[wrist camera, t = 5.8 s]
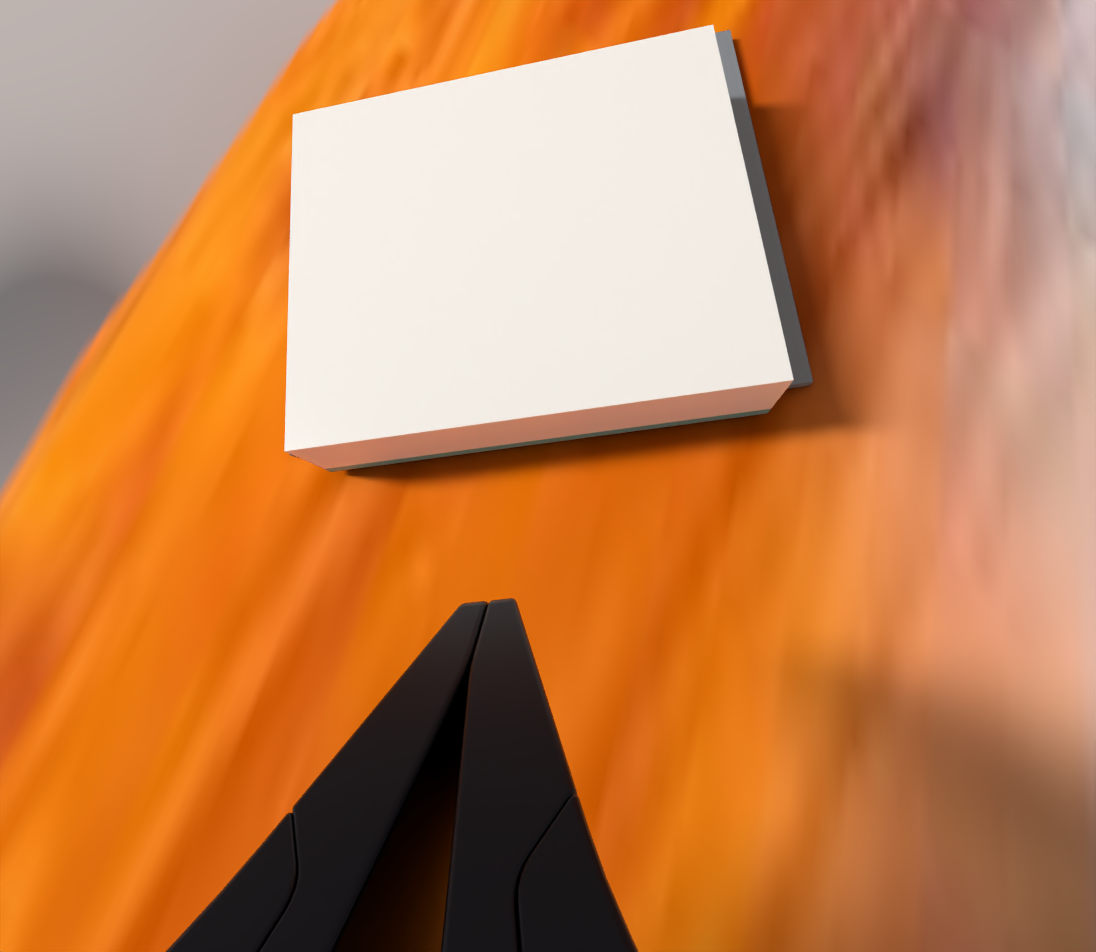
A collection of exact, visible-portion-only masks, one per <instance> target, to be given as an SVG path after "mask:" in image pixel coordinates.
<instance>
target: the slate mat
mask: <svg viewBox="0 0 1096 952" xmlns="http://www.w3.org/2000/svg"><path fill="white" fill-rule="evenodd" d="M715 36H716V40H717V44H718V49H719V53H720V58H721V62H722V66H723V71H724V75H725V80H726V84H727V88H728V93H729V97H730V102H731V106H732V110H733V115H734V119H735V124H736V128H737V132H738V137H739V141H740V146H741V150H742V154H743V159H744V163H745V168H746V172H747V176H748V181H749V185H750V190H751V194H752V198H753V203H754V207H755V212H756V216H757V220H758V225H759V229H760V234H761V238H762V243H763V247H764V251H765V256H766V260H767V265H768V269H769V273H770V278H771V282H772V287H773V291H774V295H775V300H776V304H777V309H778V313H779V317H780V322H781V326H782V331H783V335H784V339H785V344H786V348H787V353H788V357H789V361H790V366H791V370H792V375H793V379H794V380H793V382H792V383H791V384H790V385H789V387H788V388H787V389H789V388H796V387H804V386H810V385H811V384H812V383H813V378H812V374H811V370H810V366H809V361H808V357H807V353H806V349H805V345H804V340H803V336H802V332H801V328H800V323H799V319H798V315H797V311H796V307H795V302H794V298H793V294H792V290H791V285H790V281H789V277H788V273H787V269H786V264H785V260H784V256H783V252H782V247H781V243H780V239H779V235H778V231H777V226H776V222H775V218H774V214H773V209H772V205H771V201H770V197H769V193H768V188H767V184H766V180H765V176H764V171H763V167H762V163H761V159H760V155H759V150H758V146H757V142H756V138H755V133H754V129H753V125H752V121H751V117H750V112H749V108H748V104H747V100H746V95H745V91H744V87H743V83H742V79H741V74H740V70H739V66H738V62H737V57H736V53H735V49H734V45H733V41H732V36H731V32H730V30H727V31H722V32H718V33H715ZM290 455H291V456H294V455H292V454H290ZM294 457H296V456H294Z"/></svg>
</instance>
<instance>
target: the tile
mask: <svg viewBox="0 0 1096 952" xmlns="http://www.w3.org/2000/svg"><path fill="white" fill-rule="evenodd" d="M793 380H794V379H793V375H792V370H791V366H790V361H789V357H788V353H787V348H786V344H785V339H784V335H783V331H782V326H781V322H780V317H779V313H778V309H777V304H776V300H775V295H774V291H773V287H772V282H771V278H770V273H769V269H768V265H767V260H766V256H765V251H764V247H763V243H762V238H761V234H760V229H759V225H758V220H757V216H756V212H755V207H754V203H753V198H752V194H751V190H750V185H749V181H748V176H747V172H746V168H745V163H744V159H743V154H742V150H741V146H740V141H739V137H738V132H737V128H736V124H735V119H734V115H733V110H732V106H731V102H730V97H729V93H728V88H727V84H726V80H725V75H724V71H723V66H722V62H721V58H720V53H719V49H718V44H717V40H716V36H715V31H714V27H713V25H709V26H705V27H700V28H695V29H691V30H686V31H681V32H676V33H672V34H667V35H662V36H658V37H653V38H648V39H644V40H639V41H634V42H630V43H625V44H620V45H616V46H611V47H606V48H602V49H597V50H592V51H588V52H583V53H578V54H574V55H569V56H564V57H560V58H555V59H550V60H546V61H541V62H536V63H531V64H527V65H522V66H517V67H513V68H508V69H503V70H499V71H494V72H489V73H485V74H480V75H475V76H471V77H466V78H461V79H457V80H452V81H447V82H443V83H438V84H433V85H429V86H424V87H419V88H415V89H410V90H405V91H401V92H396V93H391V94H387V95H382V96H377V97H372V98H368V99H363V100H358V101H354V102H349V103H344V104H340V105H335V106H330V107H326V108H321V109H316V110H312V111H307V112H302V113H298V114H293V137H292V176H291V216H290V256H289V296H288V336H287V376H286V416H285V452H287V453H290V454H292V455H294V456H296V457H299V458H301V459H303V460H305V461H308V462H310V463H312V464H315V465H317V466H319V467H321V468H324V469H326V470H328V471H330V472H334V471H342V470H349V469H356V468H364V467H371V466H379V465H386V464H394V463H401V462H409V461H416V460H424V459H431V458H438V457H446V456H453V455H461V454H468V453H476V452H483V451H491V450H498V449H505V448H513V447H520V446H528V445H535V444H543V443H550V442H558V441H565V440H572V439H580V438H587V437H595V436H602V435H610V434H617V433H625V432H632V431H640V430H647V429H654V428H662V427H669V426H677V425H684V424H692V423H699V422H707V421H714V420H721V419H729V418H736V417H744V416H751V415H759V414H766V413H768V412H769V411H770V409H771V408H772V407H773V406H774V404H775V403H776V402H777V401H778V399H779V398H780V397H781V395H782V394H783V393H784V392H785V390H786V389H787V388H788V387H789V385H790V384H791V383H792V382H793Z"/></svg>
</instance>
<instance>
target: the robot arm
mask: <svg viewBox="0 0 1096 952" xmlns="http://www.w3.org/2000/svg"><path fill="white" fill-rule="evenodd" d="M166 952H638V949H637V947H636V945H635V943H634V941H633V939H632V936H631V934H630V932H629V930H628V927H627V925H626V923H625V920H624V918H623V916H622V913H621V911H620V908H619V906H618V904H617V901H616V899H615V897H614V894H613V892H612V890H611V887H610V885H609V883H608V880H607V878H606V875H605V873H604V870H603V867H602V864H601V861H600V859H599V856H598V853H597V850H596V847H595V844H594V842H593V839H592V836H591V833H590V830H589V827H588V824H587V821H586V818H585V815H584V812H583V809H582V805H581V802H580V799H579V797H578V795H577V791H576V788H575V784H574V781H573V778H572V775H571V772H570V769H569V766H568V762H567V759H566V756H565V753H564V750H563V747H562V744H561V740H560V737H559V734H558V731H557V728H556V725H555V721H554V718H553V715H552V712H551V709H550V706H549V703H548V699H547V696H546V693H545V690H544V687H543V684H542V681H541V677H540V674H539V671H538V668H537V665H536V662H535V658H534V655H533V652H532V649H531V646H530V643H529V640H528V636H527V633H526V630H525V627H524V624H523V621H522V618H521V614H520V611H519V608H518V605H517V602H516V600H515V599H513V598H510V599H500V600H492V601H491V602H490V603H487V602H485V601H481V602H471V603H464V604H462V605H460V606H459V607H458V608H457V610H456V611H455V612H454V613H453V614H452V616H451V617H450V618H449V619H448V620H447V622H446V623H445V624H444V625H443V626H442V628H441V629H440V630H439V631H438V632H437V634H436V635H435V636H434V637H433V638H432V640H431V641H430V642H429V643H428V645H427V646H426V647H425V648H424V649H423V651H422V652H421V653H420V654H419V655H418V657H417V658H416V659H415V660H414V661H413V663H412V664H411V665H410V666H409V667H408V669H407V670H406V671H405V672H404V673H403V675H402V676H401V677H400V678H399V680H398V681H397V682H396V683H395V684H394V686H393V687H392V688H391V689H390V690H389V692H388V693H387V694H386V695H385V696H384V698H383V699H382V700H381V701H380V702H379V704H378V705H377V706H376V707H375V708H374V710H373V711H372V712H371V713H370V715H369V716H368V717H367V718H366V719H365V721H364V722H363V723H362V724H361V725H360V727H359V728H358V729H357V730H356V731H355V733H354V734H353V735H352V736H351V737H350V739H349V740H348V741H347V742H346V743H345V745H344V746H343V747H342V748H341V749H340V751H339V752H338V753H337V754H336V756H335V757H334V758H333V759H332V760H331V762H330V763H329V764H328V765H327V766H326V768H325V769H324V770H323V771H322V772H321V774H320V775H319V776H318V777H317V778H316V780H315V781H314V782H313V783H312V784H311V786H310V787H309V788H308V789H307V791H306V792H305V793H304V794H303V795H302V797H301V798H300V799H299V800H298V801H297V803H296V804H295V805H294V806H293V813H288V814H286V816H285V817H284V818H283V819H282V820H281V822H280V823H279V824H278V825H277V826H276V828H275V829H274V830H273V831H272V832H271V834H270V835H269V836H268V837H267V838H266V840H265V841H264V842H263V843H262V844H261V846H260V847H259V848H258V849H257V850H256V851H255V853H254V854H253V855H252V856H251V857H250V858H249V860H248V861H247V862H246V863H245V864H244V865H243V866H242V868H241V869H240V870H239V871H238V872H237V873H236V875H235V876H234V877H233V878H232V879H231V880H230V882H229V883H228V884H227V885H226V886H225V887H224V889H223V890H222V891H221V892H220V893H219V894H218V895H217V896H216V897H215V899H214V900H213V901H212V902H211V903H210V904H209V905H208V906H207V907H206V908H205V909H204V911H203V912H202V913H201V914H200V915H199V916H198V917H197V918H196V919H195V920H194V921H193V922H192V924H191V925H190V926H189V927H188V928H187V929H186V930H185V931H184V932H183V933H182V934H181V936H180V937H179V938H178V939H177V940H176V941H175V942H174V943H173V944H172V945H171V946H170V947H169V949H168V950H167V951H166Z"/></svg>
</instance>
